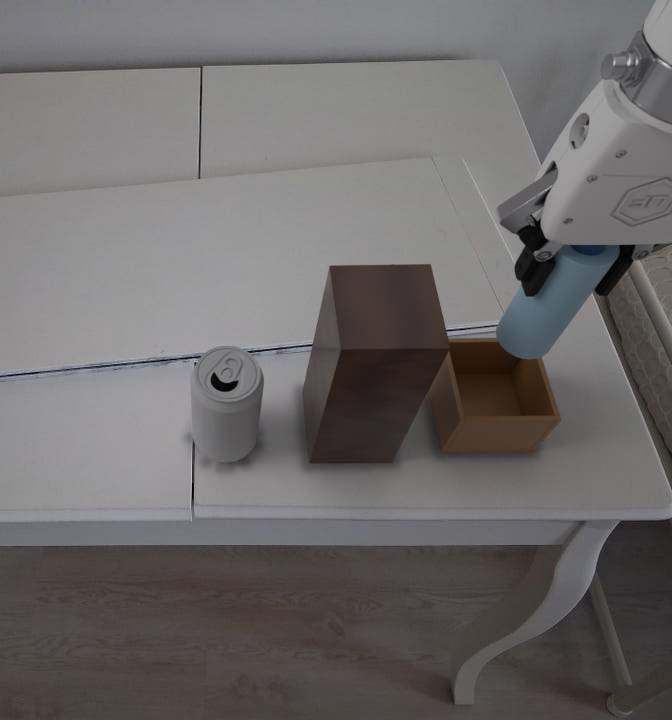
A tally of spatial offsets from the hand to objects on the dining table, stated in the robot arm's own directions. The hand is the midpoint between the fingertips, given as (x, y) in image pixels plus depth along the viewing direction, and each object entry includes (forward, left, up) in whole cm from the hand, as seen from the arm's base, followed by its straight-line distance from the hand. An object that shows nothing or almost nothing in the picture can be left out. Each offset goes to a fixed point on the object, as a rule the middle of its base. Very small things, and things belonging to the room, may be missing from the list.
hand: (561, 279), depth 55 cm
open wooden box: (0, 0, -21) cm, 21 cm away
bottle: (0, 0, -8) cm, 8 cm away
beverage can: (+23, +11, -21) cm, 33 cm away
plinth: (+12, +6, -21) cm, 25 cm away
